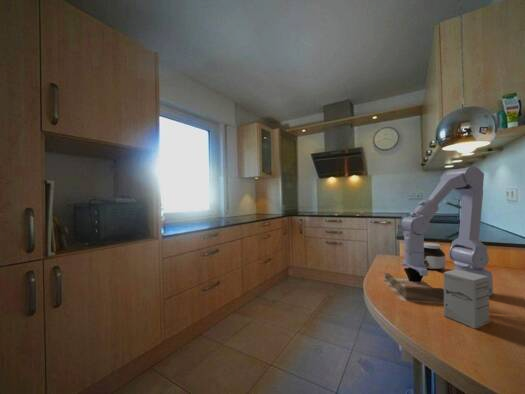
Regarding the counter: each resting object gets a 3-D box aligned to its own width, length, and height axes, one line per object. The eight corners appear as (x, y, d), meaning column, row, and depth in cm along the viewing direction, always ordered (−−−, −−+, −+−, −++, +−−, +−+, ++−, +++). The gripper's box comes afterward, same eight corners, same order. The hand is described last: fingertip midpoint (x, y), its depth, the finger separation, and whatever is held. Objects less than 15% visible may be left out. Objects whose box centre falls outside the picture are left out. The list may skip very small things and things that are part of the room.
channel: (380, 278, 95) (380, 267, 95) (418, 280, 92) (418, 269, 92) (401, 302, 74) (401, 288, 74) (451, 306, 71) (451, 291, 71)
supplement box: (442, 316, 65) (442, 271, 65) (458, 311, 68) (457, 268, 68) (475, 330, 58) (474, 280, 58) (490, 323, 61) (489, 275, 61)
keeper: (405, 292, 80) (405, 281, 80) (424, 293, 78) (424, 282, 78) (411, 298, 75) (411, 286, 75) (432, 300, 74) (432, 287, 74)
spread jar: (448, 271, 104) (448, 245, 104) (432, 274, 100) (432, 247, 100) (422, 264, 115) (421, 241, 115) (406, 266, 111) (406, 243, 111)
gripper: (394, 246, 88) (394, 281, 88) (410, 255, 74) (410, 297, 74) (414, 246, 86) (415, 282, 86) (434, 256, 72) (435, 299, 72)
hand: (414, 289), depth 80 cm, fingers closed
